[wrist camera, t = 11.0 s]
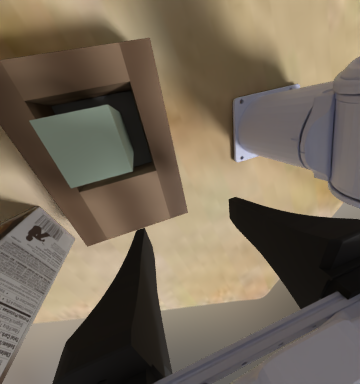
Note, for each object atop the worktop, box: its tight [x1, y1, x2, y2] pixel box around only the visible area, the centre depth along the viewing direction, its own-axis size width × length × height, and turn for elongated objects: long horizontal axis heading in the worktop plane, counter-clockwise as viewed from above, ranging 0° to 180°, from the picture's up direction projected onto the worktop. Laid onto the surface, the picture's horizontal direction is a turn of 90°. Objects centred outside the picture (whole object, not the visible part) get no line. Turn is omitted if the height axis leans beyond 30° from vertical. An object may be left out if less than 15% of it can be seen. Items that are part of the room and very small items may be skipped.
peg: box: [29, 105, 134, 188], centre depth 12 cm, size 4×4×8 cm
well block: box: [0, 38, 188, 247], centre depth 15 cm, size 12×16×4 cm
